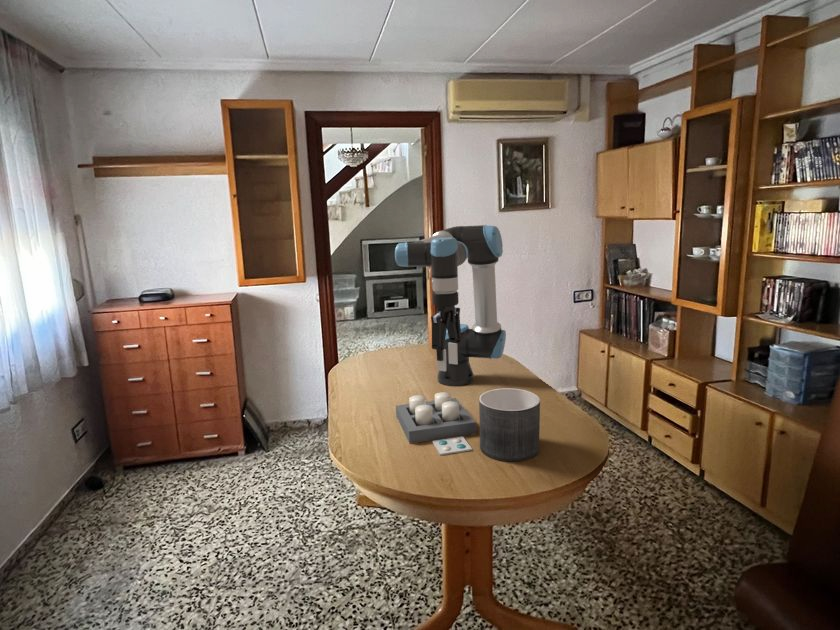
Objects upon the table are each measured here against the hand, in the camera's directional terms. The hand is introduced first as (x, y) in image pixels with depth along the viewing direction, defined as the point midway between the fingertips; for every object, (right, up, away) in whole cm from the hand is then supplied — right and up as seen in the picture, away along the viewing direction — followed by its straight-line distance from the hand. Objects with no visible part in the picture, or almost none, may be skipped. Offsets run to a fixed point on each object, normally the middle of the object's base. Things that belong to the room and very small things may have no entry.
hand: (447, 366), depth 156 cm
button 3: (0, -17, +24) cm, 30 cm away
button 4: (+2, -19, +16) cm, 25 cm away
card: (+1, -25, +4) cm, 25 cm away
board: (-3, -21, +19) cm, 29 cm away
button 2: (-7, -20, +14) cm, 25 cm away
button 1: (-9, -18, +22) cm, 30 cm away
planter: (+19, -25, +1) cm, 31 cm away
